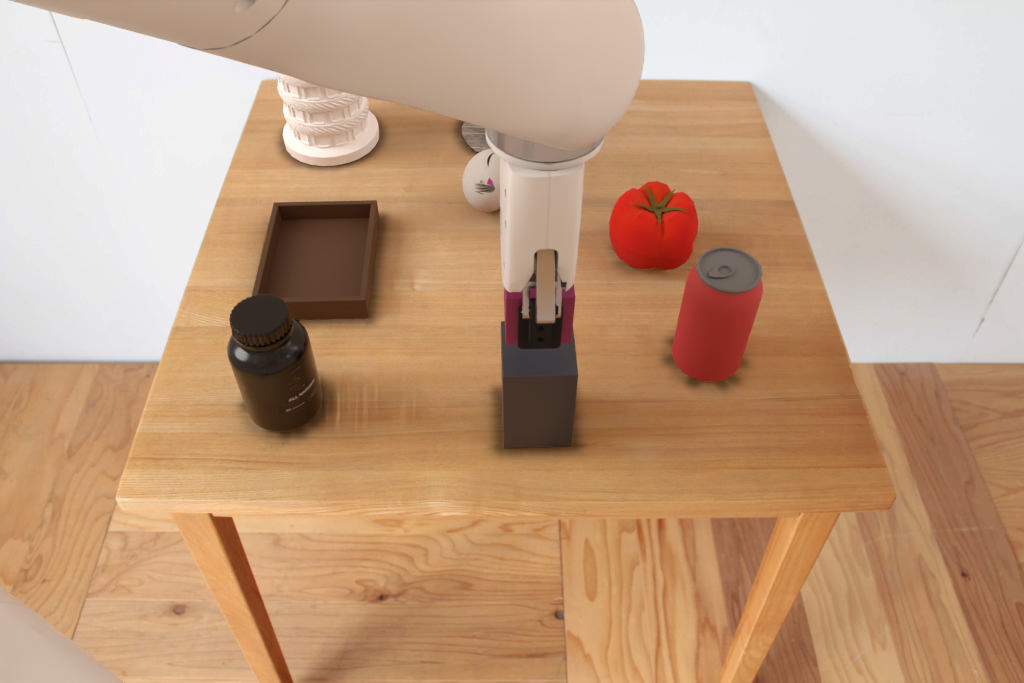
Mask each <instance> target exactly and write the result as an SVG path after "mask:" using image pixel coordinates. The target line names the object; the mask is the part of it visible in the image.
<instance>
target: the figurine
mask: <svg viewBox="0 0 1024 683" xmlns="http://www.w3.org/2000/svg"><path fill="white" fill-rule="evenodd" d="M461 182H462V183H461V185H462V192H463V195H464V197H465V200H466V201H467V203H468V204H469V205H470V206H471V207H473V208H474V209H476V210H478V211H481V212H484V213H486V212H487V213H488V212H489V213H490V212H495V211H497V210H500V157H499V156H498V155H496V154H495V153H494V152H493V151H492V149H487V150H484V151H481V152H477V153H476V154H475V155H474V156H473V157H472V158H471V159H470V160H469V161H468V163H467V164H466V166H465V168H464V171H463V174H462V180H461Z"/></svg>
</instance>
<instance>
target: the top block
mask: <svg viewBox="0 0 1024 683" xmlns="http://www.w3.org/2000/svg"><path fill="white" fill-rule="evenodd" d="M555 273H556V270H555ZM533 274H536V271H534V273H533ZM575 290H576V289H575V283H574V284H573V286H572V287H571V288H570V289H569V290H567V291H565V290H564V288H562V305H561V306H563V320H562V333H561V344H570V343H571V341H572V330H574V317H575V308H576V307H575V306H576V291H575ZM530 302H536V288H533V289H530ZM518 307H522V292H508V291H507V290H506V289H505V288H504V287H503V313H504V321H505V344H506V345H518Z"/></svg>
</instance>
